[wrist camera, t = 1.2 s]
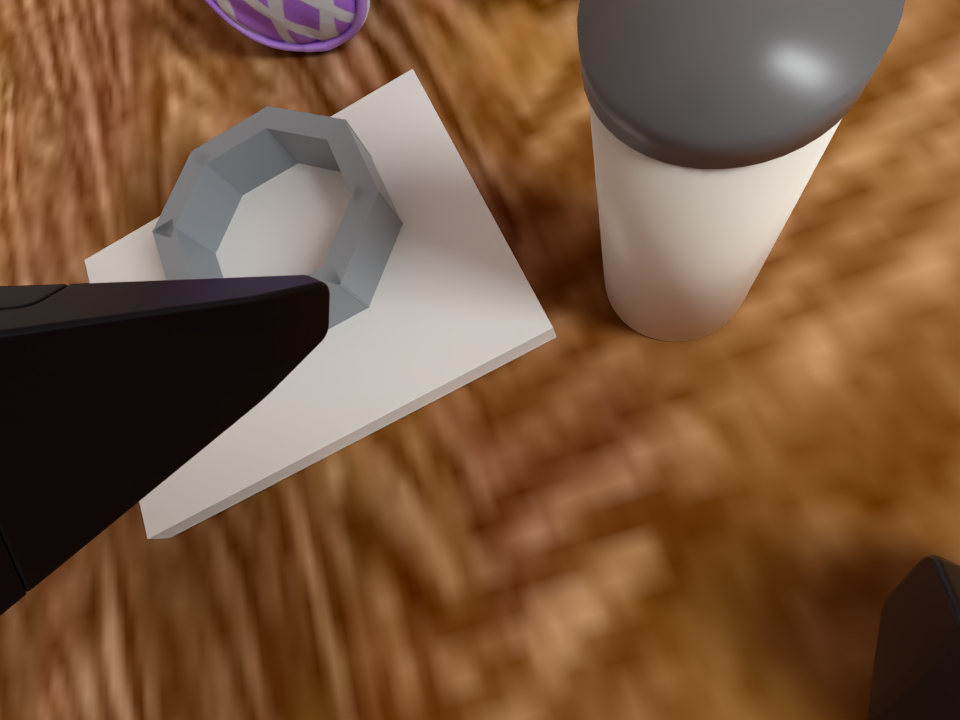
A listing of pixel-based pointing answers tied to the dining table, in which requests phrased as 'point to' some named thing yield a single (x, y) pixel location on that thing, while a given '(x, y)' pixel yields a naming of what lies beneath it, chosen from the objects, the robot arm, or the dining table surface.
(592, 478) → the dining table surface
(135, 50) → the dining table surface
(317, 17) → the pencil case
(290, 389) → the socket plate
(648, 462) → the dining table surface
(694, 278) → the canister
